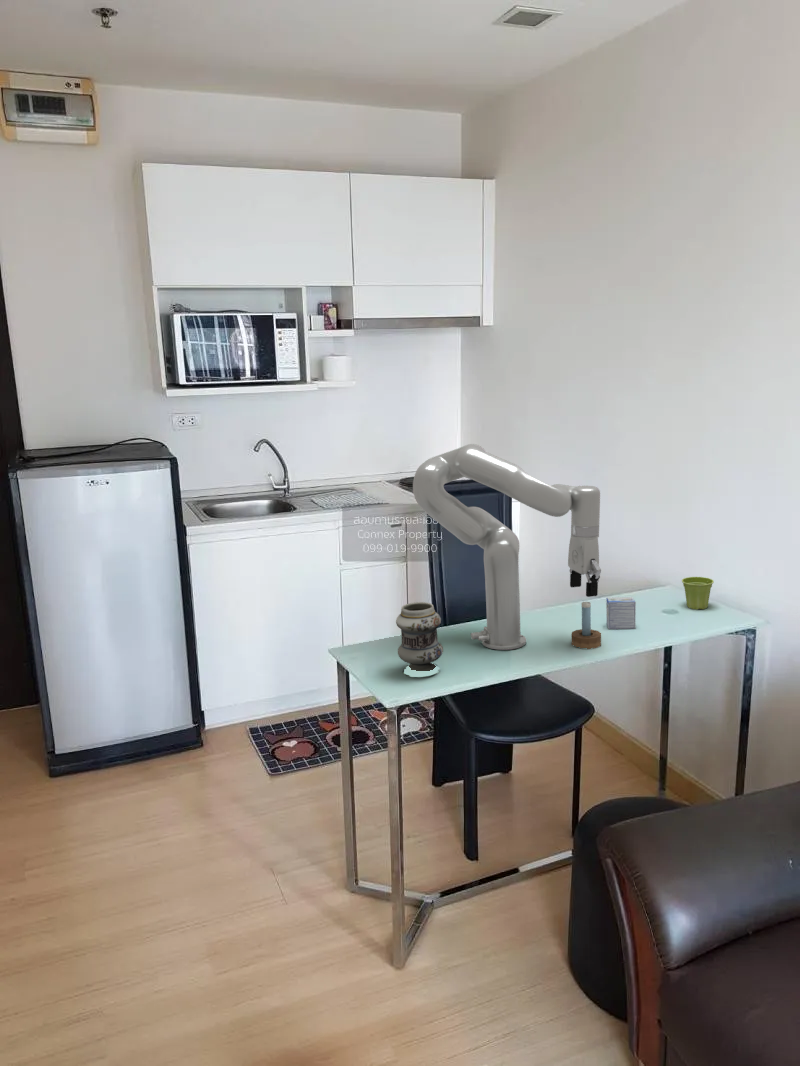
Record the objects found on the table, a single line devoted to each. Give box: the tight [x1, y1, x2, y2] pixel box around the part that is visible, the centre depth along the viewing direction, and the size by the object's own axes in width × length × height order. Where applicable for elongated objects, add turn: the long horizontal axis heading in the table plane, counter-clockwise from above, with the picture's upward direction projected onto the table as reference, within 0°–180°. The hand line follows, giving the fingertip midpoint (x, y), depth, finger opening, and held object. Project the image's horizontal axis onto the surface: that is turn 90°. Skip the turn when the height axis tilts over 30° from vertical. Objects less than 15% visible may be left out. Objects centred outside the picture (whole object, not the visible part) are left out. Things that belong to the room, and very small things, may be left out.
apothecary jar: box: [395, 601, 444, 671], centre depth 213 cm, size 12×12×18 cm
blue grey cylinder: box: [581, 601, 592, 636], centre depth 227 cm, size 2×2×12 cm
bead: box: [570, 628, 602, 650], centre depth 228 cm, size 8×8×3 cm
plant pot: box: [681, 576, 714, 610], centre depth 255 cm, size 9×9×9 cm
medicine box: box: [605, 596, 637, 630], centre depth 240 cm, size 8×4×9 cm, turn 84°
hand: (583, 591), depth 225 cm, fingers open, 9 cm apart
